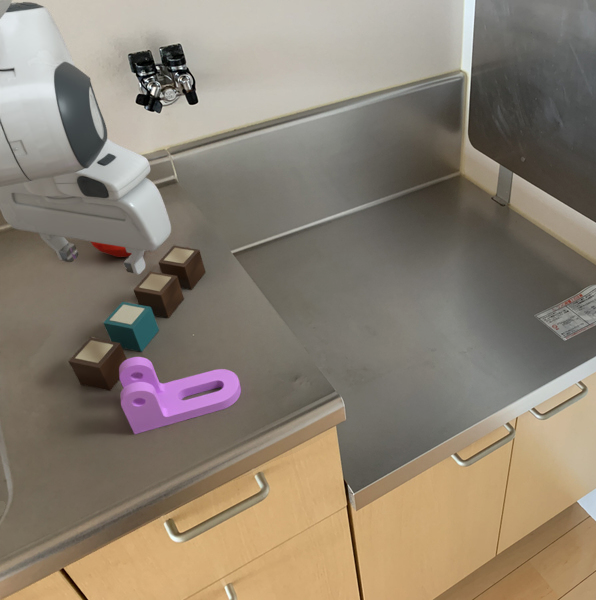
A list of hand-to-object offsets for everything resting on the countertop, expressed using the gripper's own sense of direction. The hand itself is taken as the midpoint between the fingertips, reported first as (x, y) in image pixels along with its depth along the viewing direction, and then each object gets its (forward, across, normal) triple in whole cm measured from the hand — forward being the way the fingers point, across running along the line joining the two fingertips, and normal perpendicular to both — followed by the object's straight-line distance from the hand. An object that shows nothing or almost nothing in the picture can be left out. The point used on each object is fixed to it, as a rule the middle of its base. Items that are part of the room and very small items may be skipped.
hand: (103, 264), depth 75 cm
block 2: (+13, 0, +14) cm, 19 cm away
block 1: (+13, 0, -6) cm, 15 cm away
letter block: (+13, 0, +1) cm, 13 cm away
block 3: (+13, 0, +8) cm, 15 cm away
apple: (+13, -13, +18) cm, 26 cm away
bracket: (+14, +12, -8) cm, 20 cm away
